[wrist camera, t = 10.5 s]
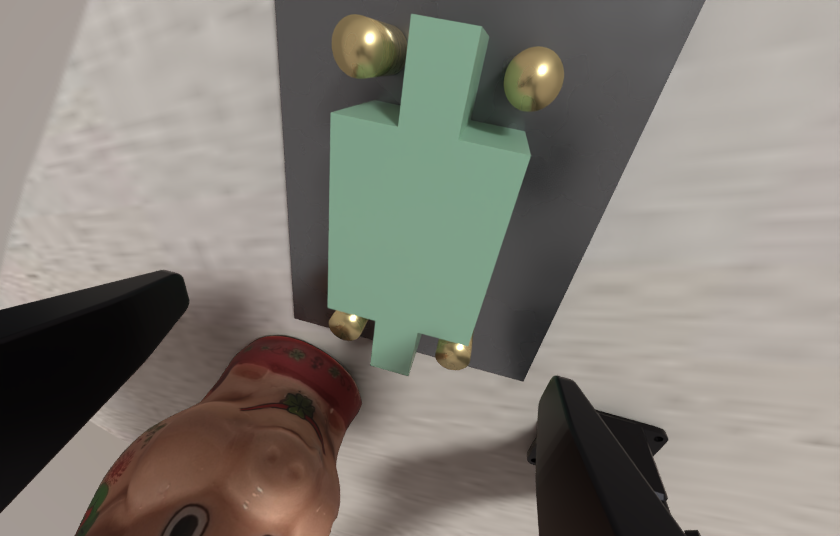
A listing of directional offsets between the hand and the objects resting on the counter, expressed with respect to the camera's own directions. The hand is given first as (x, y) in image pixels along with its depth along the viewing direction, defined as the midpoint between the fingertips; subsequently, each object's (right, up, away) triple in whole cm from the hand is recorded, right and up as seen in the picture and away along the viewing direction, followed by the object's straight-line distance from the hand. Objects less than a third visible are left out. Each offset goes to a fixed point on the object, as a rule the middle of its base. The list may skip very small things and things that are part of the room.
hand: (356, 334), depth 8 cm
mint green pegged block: (+2, +4, +7) cm, 9 cm away
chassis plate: (+2, +5, +8) cm, 10 cm away
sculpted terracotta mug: (-8, -8, +19) cm, 22 cm away
